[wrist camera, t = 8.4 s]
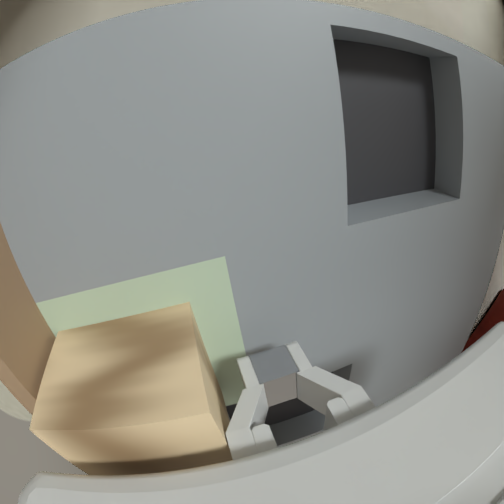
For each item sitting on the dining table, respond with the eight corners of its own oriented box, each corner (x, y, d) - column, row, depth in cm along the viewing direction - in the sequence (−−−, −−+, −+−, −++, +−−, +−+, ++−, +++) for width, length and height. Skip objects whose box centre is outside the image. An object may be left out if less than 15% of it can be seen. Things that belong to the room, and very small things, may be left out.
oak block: (189, 301, 11) (209, 412, 6) (221, 391, 13) (246, 476, 9) (58, 331, 10) (29, 429, 5) (116, 411, 12) (117, 491, 8)
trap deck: (484, 67, 12) (547, 75, 7) (445, 343, 24) (478, 377, 19) (-11, 98, 7) (-100, 103, 1) (160, 450, 19) (169, 509, 14)
